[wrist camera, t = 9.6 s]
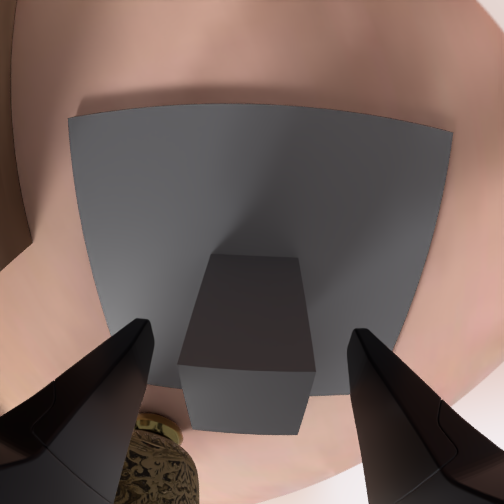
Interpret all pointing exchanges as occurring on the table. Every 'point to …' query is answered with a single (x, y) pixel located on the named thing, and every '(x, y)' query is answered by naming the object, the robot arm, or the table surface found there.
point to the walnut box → (9, 153)
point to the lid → (256, 244)
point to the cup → (157, 465)
